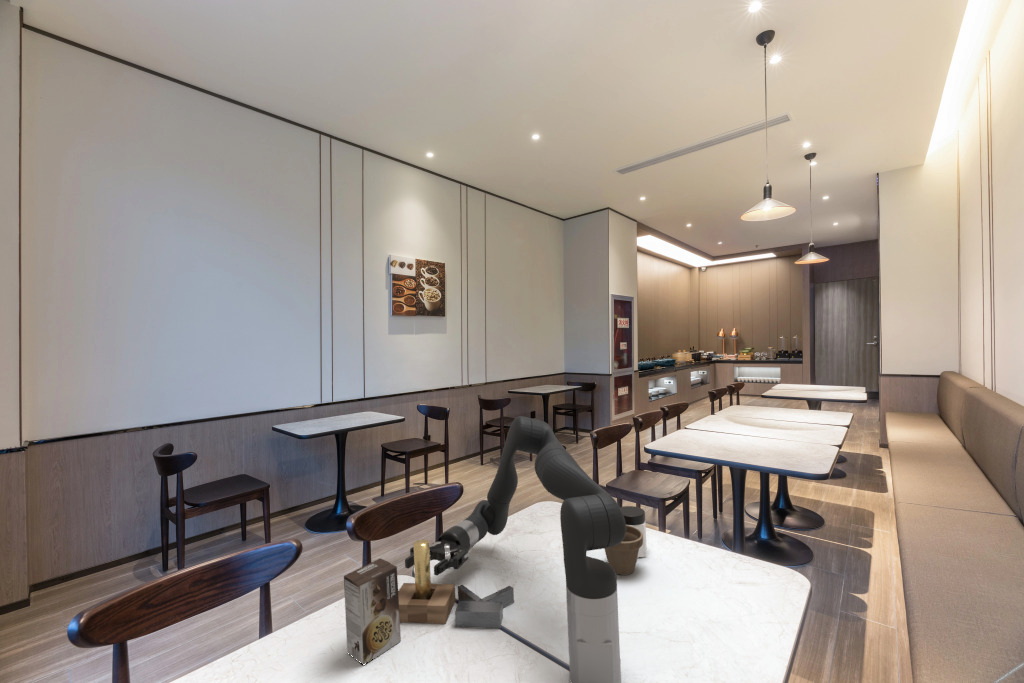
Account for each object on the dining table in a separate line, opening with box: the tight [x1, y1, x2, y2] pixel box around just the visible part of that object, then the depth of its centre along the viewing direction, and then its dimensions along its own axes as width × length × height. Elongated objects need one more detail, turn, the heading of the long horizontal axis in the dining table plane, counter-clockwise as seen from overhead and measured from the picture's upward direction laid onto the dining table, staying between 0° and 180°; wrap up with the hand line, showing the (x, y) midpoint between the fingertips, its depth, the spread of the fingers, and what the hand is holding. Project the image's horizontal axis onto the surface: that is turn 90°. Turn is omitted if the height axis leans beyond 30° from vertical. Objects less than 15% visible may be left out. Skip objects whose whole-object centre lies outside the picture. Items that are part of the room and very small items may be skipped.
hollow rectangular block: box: [398, 582, 457, 625], centre depth 104 cm, size 9×13×4 cm
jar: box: [619, 505, 648, 559], centre depth 129 cm, size 9×8×12 cm
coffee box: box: [343, 558, 402, 664], centre depth 92 cm, size 9×6×16 cm
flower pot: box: [603, 525, 643, 576], centre depth 119 cm, size 12×11×10 cm
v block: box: [454, 584, 515, 630], centre depth 103 cm, size 11×14×4 cm
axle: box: [413, 539, 432, 600], centre depth 104 cm, size 4×4×16 cm
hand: (420, 567), depth 104 cm, fingers open, 8 cm apart
